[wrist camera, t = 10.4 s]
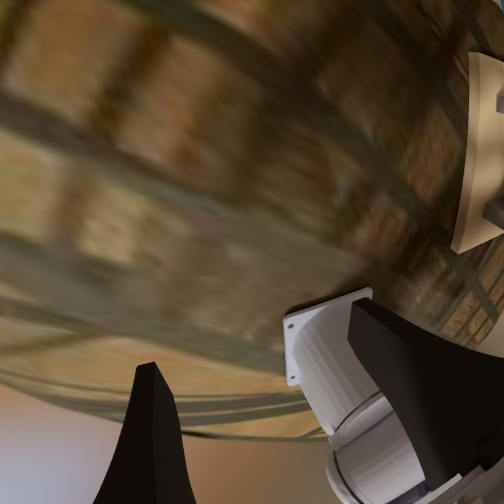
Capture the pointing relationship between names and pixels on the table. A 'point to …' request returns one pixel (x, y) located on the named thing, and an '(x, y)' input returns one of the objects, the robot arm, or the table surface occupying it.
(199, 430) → the table surface
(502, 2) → the key chain
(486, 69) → the roll holder
